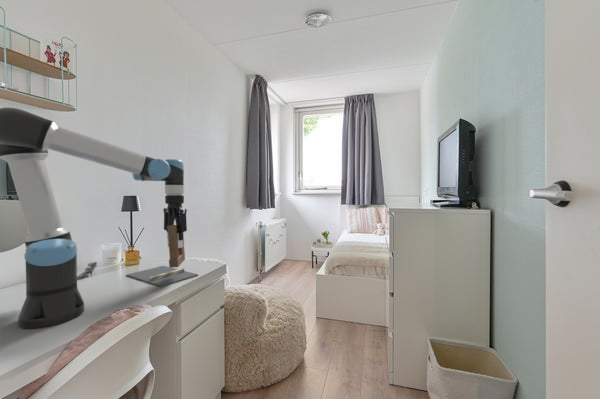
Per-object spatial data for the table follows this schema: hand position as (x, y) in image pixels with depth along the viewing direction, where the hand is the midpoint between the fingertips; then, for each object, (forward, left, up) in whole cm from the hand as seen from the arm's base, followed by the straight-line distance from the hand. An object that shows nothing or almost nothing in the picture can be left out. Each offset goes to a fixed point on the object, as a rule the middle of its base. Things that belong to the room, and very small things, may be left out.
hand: (175, 246), depth 120 cm
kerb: (0, +6, -15) cm, 16 cm away
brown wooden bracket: (+1, 0, -8) cm, 8 cm away
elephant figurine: (-18, +38, -15) cm, 45 cm away
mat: (0, +10, -15) cm, 18 cm away
